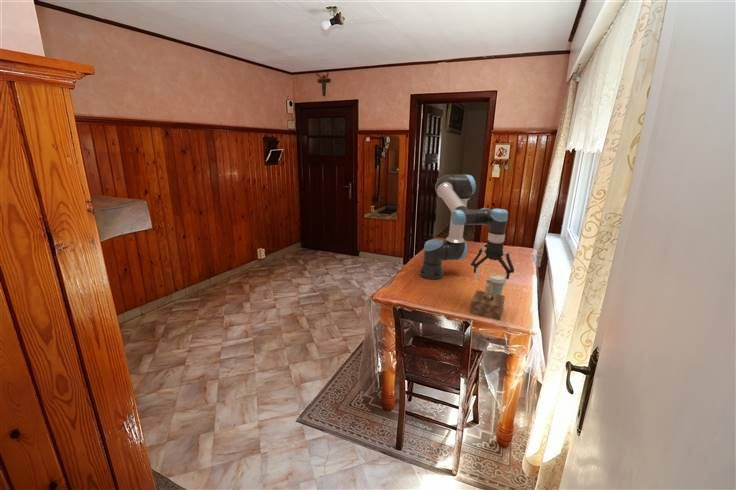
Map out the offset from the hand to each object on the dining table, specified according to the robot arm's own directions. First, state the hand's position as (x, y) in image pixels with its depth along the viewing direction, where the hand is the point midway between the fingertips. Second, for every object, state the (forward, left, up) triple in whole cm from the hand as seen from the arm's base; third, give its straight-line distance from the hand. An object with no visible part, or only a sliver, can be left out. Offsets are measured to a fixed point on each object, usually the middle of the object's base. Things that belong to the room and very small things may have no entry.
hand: (490, 281), depth 167 cm
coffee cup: (+1, +19, -16) cm, 25 cm away
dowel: (0, 0, -14) cm, 14 cm away
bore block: (0, 0, -16) cm, 16 cm away
